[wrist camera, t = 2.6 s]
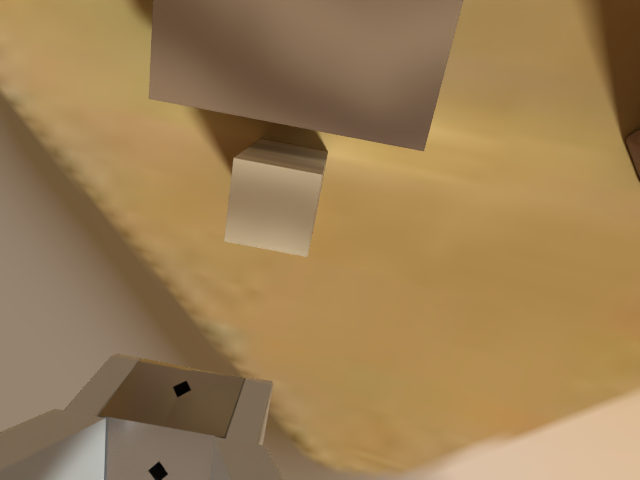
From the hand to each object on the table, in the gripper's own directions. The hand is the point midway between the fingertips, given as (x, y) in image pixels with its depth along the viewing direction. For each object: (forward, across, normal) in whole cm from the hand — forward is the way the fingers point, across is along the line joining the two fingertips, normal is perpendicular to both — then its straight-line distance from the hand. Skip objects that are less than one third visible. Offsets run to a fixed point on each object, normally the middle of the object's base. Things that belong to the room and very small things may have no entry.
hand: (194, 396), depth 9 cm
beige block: (+19, 0, 0) cm, 19 cm away
